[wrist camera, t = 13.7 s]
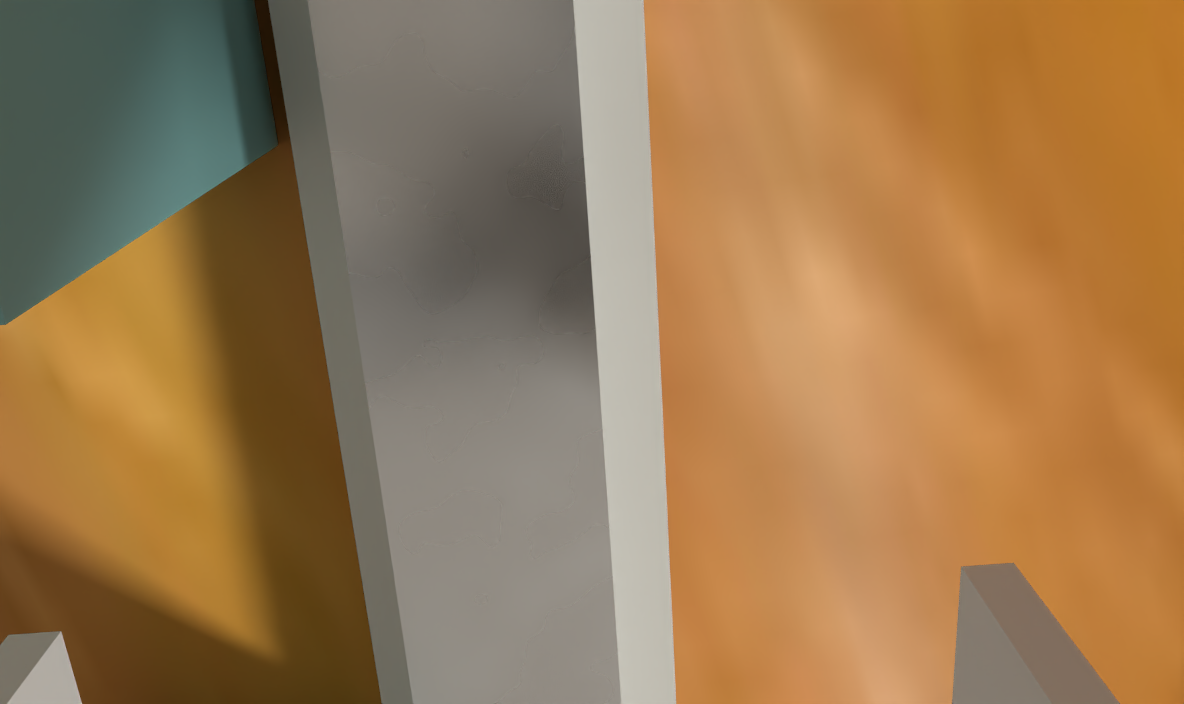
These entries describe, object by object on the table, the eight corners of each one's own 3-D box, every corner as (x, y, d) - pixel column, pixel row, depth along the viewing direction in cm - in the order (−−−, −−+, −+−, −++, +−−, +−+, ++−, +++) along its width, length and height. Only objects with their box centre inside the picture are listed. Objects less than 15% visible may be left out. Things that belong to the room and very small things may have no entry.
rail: (315, -265, 18) (258, -328, 14) (546, -280, 18) (549, -347, 14) (481, 944, 28) (472, 1096, 24) (632, 930, 28) (647, 1080, 24)
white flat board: (224, -318, 18) (214, -327, 18) (623, -343, 19) (627, -353, 18) (428, 958, 29) (426, 978, 28) (684, 934, 29) (687, 953, 28)
